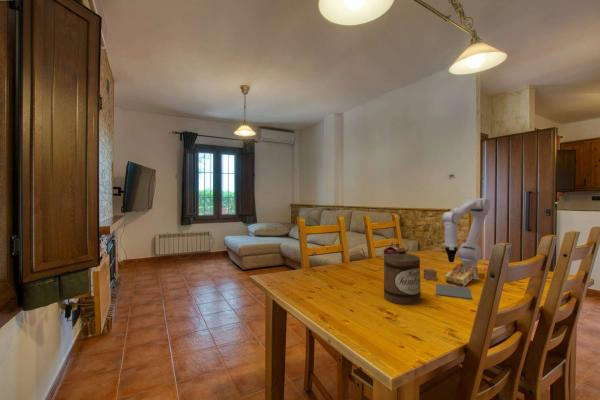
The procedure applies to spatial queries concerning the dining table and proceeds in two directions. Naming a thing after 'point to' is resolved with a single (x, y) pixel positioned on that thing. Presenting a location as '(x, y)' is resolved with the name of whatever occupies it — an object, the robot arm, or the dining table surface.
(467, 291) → the mat
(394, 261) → the wooden container
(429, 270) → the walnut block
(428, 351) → the dining table surface
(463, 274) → the candy box
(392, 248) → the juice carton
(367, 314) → the dining table surface
